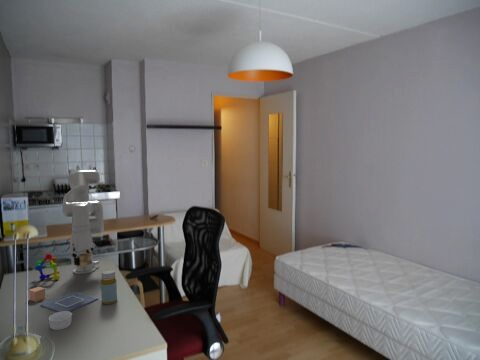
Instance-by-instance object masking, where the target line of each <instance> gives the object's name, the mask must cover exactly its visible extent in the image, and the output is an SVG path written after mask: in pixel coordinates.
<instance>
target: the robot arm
mask: <svg viewBox="0 0 480 360" xmlns="http://www.w3.org/2000/svg"><path fill="white" fill-rule="evenodd" d="M100 180H101V175H100V173H99V171H98V170H95V169H89V170H88V169H85V170H84V169H83V170H76V171H74V172H70V173H69V174H68V176H67V183H68V185H69V187H70V190H69V191H68V192H67V193H66V194H65V195H64V197H63V199H62V209H61V211H62V214H63V216H64V217H66V218H72V224H71V228H72V229H71V230H72V232H71V235H70V248H69V250H68V251H67V253H68V255H70V256H71V257H72V258H73V265H74V264H75V265H74V266H75V268H74V269H73V270H72V273H73V274H76V275H85V274H90V273H92V272H93V273H94V272H95V271H96V270H97V269H96V265H99V264H100V260H96V261H94V259H93V258H92V264H89V265H86V266H83V267H80V266H79V265H80V259H79V258H78V256H79V254H80V253H89V254H92V255H93V251H94V250H95V248H96V246H97V245H96V243H94V242H93V236H92V235H99V234H102V233H103V232H104V230H105V229H104V227H105V226H104V225H105V223H104V209H103V204H102V202H101V201H99V200H90V193H89V192H90V191H89V189H90V186H91V187H92V186H93V187H94V186H98V185H100ZM90 217H94V218H90ZM76 265H77V266H76Z"/></svg>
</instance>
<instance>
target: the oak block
mask: <svg viewBox="0 0 480 360" xmlns="http://www.w3.org/2000/svg"><path fill="white" fill-rule="evenodd" d="M78 258H79V259H80V265H79V266H80V267H83V266H86V265H89V264H92V259H93V253H92V254H89V253H80V254H79V256H78ZM73 266H75V267H76V266H77V265H75V264H74V263H73Z"/></svg>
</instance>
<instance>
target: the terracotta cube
mask: <svg viewBox="0 0 480 360" xmlns="http://www.w3.org/2000/svg"><path fill="white" fill-rule="evenodd" d="M28 295H29V296H28V297H29V301H31V302H32V301H33V302H35V303H36V302H39V301H42V300H44V299H46V288H44V287H41V286H37V287H33V288H31V289H28Z"/></svg>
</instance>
